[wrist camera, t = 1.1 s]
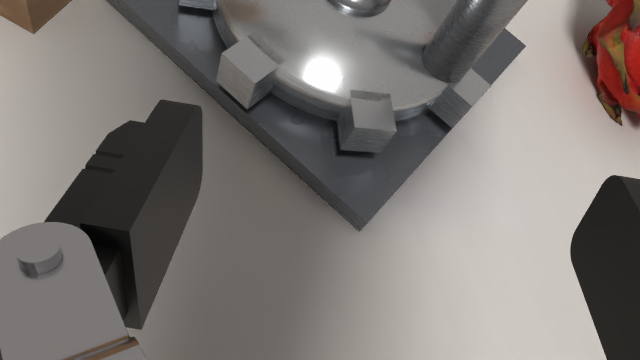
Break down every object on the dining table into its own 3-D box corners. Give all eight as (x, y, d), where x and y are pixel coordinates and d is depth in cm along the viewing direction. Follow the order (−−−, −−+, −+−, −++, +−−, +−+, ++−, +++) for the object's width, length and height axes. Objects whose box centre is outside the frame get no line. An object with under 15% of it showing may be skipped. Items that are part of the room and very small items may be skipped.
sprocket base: (104, -2, 27) (103, -17, 26) (316, -111, 36) (320, -125, 35) (359, 231, 25) (367, 223, 24) (516, 56, 34) (526, 46, 33)
